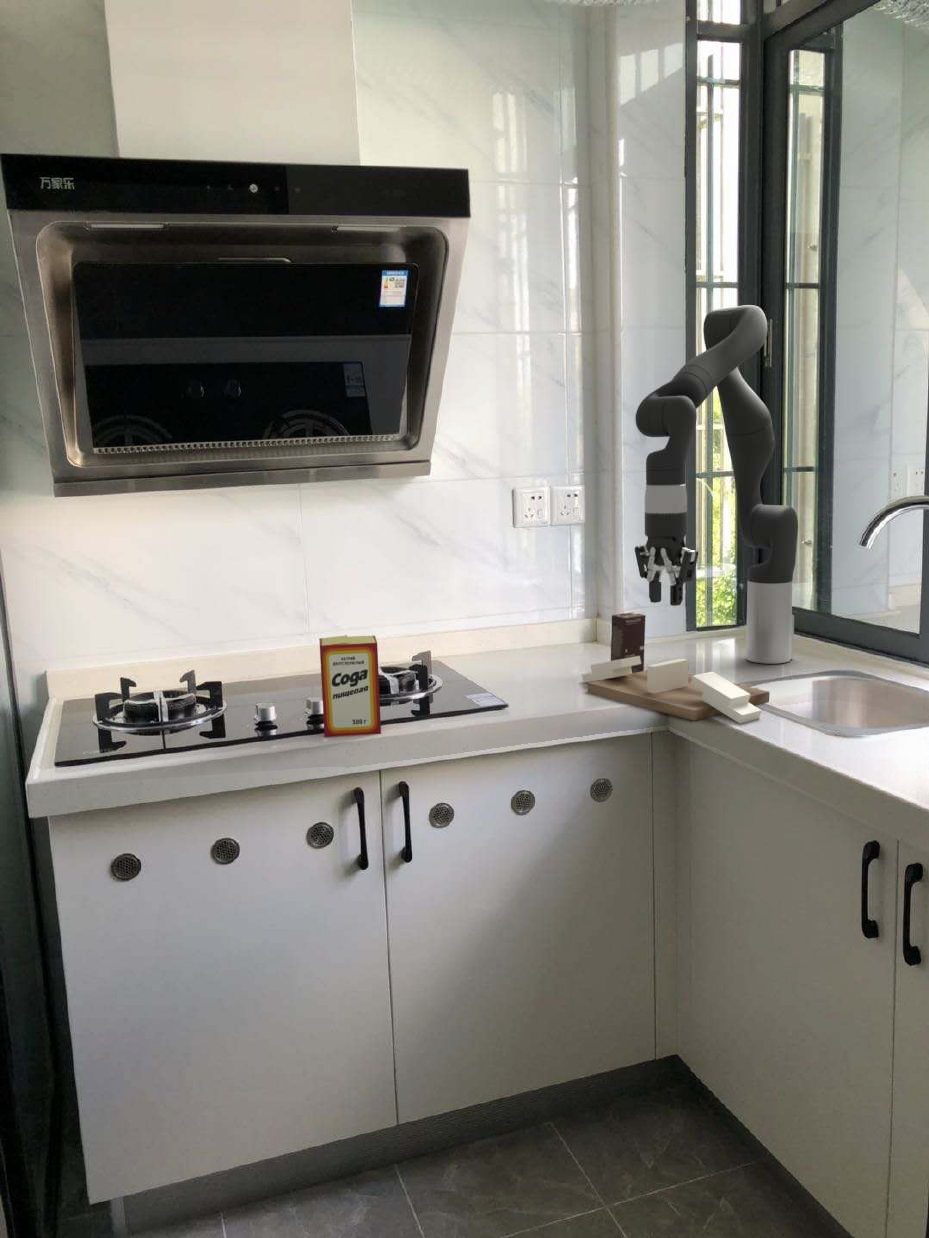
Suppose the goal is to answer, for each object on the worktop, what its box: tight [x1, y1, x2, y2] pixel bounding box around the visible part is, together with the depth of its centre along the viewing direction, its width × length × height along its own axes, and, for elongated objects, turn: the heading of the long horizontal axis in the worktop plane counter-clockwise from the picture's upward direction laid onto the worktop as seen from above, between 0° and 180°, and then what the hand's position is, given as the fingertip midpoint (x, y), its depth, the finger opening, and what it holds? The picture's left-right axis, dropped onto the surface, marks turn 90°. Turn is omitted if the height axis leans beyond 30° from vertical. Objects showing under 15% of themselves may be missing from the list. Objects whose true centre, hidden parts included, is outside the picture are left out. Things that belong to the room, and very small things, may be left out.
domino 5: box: [701, 692, 762, 724], centre depth 176 cm, size 2×5×9 cm
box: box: [610, 611, 647, 673], centre depth 211 cm, size 6×4×12 cm
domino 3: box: [647, 658, 689, 694], centre depth 189 cm, size 2×5×9 cm
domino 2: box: [582, 666, 633, 683], centre depth 201 cm, size 2×5×9 cm
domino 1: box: [590, 656, 641, 673], centre depth 199 cm, size 2×5×9 cm
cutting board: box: [586, 669, 771, 721], centre depth 190 cm, size 20×27×2 cm
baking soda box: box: [319, 635, 382, 738], centre depth 173 cm, size 10×6×16 cm
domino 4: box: [691, 671, 750, 707], centre depth 177 cm, size 2×5×9 cm
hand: (665, 603), depth 186 cm, fingers open, 4 cm apart
